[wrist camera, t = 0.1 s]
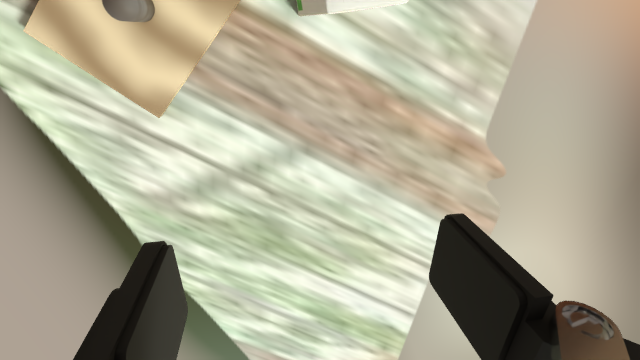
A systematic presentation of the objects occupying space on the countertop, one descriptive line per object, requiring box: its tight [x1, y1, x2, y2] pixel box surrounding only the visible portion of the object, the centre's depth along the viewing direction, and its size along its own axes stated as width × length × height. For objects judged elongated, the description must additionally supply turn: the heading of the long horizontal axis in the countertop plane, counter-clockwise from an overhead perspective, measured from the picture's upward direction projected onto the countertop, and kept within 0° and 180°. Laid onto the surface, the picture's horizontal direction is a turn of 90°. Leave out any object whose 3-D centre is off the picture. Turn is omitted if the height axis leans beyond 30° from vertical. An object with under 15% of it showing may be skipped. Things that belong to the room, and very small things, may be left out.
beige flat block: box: [24, 0, 240, 118], centre depth 30 cm, size 18×14×6 cm
